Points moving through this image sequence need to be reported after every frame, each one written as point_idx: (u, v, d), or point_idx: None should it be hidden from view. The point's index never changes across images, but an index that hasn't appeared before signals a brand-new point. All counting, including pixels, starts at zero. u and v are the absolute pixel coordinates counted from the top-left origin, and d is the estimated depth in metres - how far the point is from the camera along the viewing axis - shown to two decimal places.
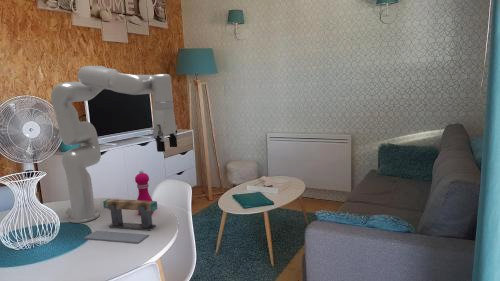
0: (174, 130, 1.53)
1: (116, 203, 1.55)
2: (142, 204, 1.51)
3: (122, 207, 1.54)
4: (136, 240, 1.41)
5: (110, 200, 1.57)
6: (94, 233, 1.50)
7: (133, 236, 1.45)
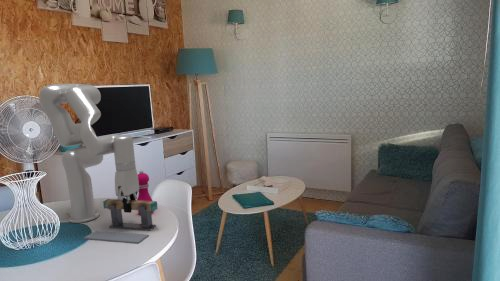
0: (137, 188, 1.56)
1: (116, 203, 1.55)
2: (142, 204, 1.51)
3: (122, 207, 1.54)
4: (136, 240, 1.41)
5: (110, 200, 1.57)
6: (94, 233, 1.50)
7: (133, 236, 1.45)
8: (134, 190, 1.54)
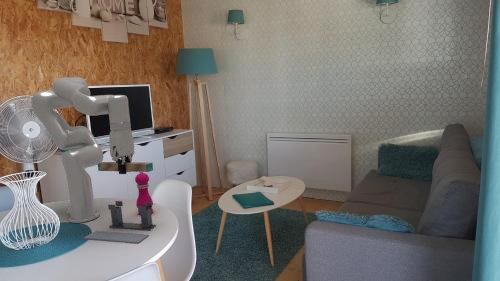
0: (132, 150, 1.53)
1: (111, 165, 1.52)
2: (137, 165, 1.48)
3: (117, 169, 1.51)
4: (136, 240, 1.41)
5: (105, 162, 1.54)
6: (94, 233, 1.50)
7: (133, 236, 1.45)
8: (129, 152, 1.51)
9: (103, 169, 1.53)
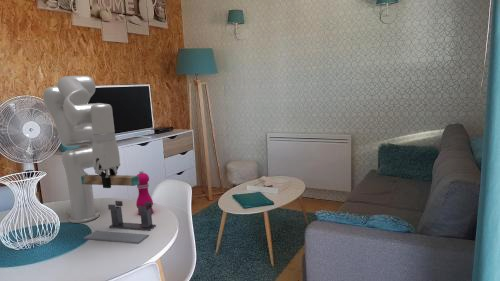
0: (117, 162, 1.44)
1: (95, 178, 1.43)
2: (122, 178, 1.39)
3: (101, 182, 1.42)
4: (136, 240, 1.41)
5: (88, 175, 1.45)
6: (94, 233, 1.50)
7: (133, 236, 1.45)
8: (114, 164, 1.42)
9: (87, 182, 1.44)
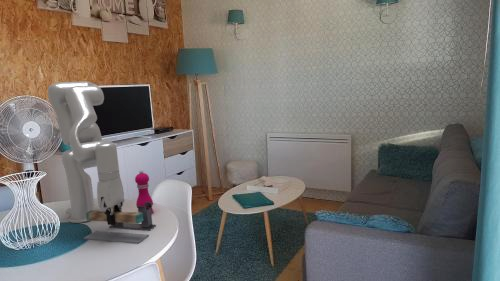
0: (122, 199, 1.46)
1: (99, 215, 1.45)
2: (127, 216, 1.41)
3: (106, 219, 1.44)
4: (136, 240, 1.41)
5: (93, 211, 1.47)
6: (94, 233, 1.50)
7: (133, 236, 1.45)
8: (118, 201, 1.44)
9: (92, 219, 1.46)
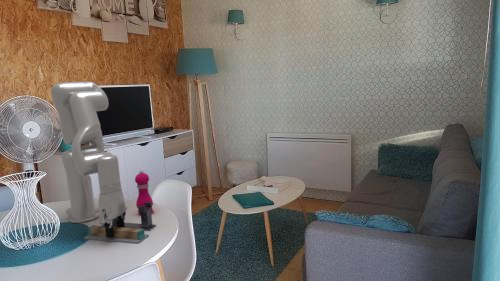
0: (123, 211, 1.47)
1: (101, 230, 1.46)
2: (128, 232, 1.43)
3: None
4: (136, 240, 1.41)
5: (95, 227, 1.49)
6: None
7: None
8: (119, 213, 1.45)
9: (93, 234, 1.48)
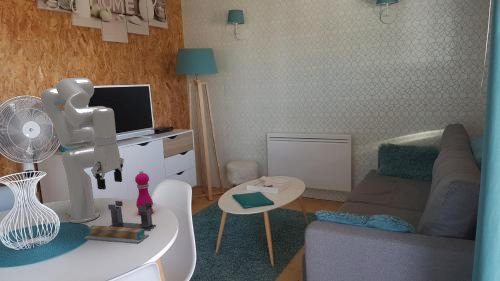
0: (118, 165, 1.47)
1: (101, 230, 1.46)
2: (128, 232, 1.43)
3: (107, 235, 1.46)
4: (136, 240, 1.41)
5: (95, 227, 1.49)
6: None
7: None
8: (115, 167, 1.45)
9: (93, 234, 1.48)
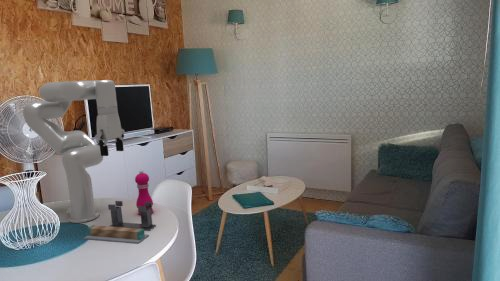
0: (119, 134, 1.57)
1: (101, 230, 1.46)
2: (128, 232, 1.43)
3: (107, 235, 1.46)
4: (136, 240, 1.41)
5: (95, 227, 1.49)
6: None
7: None
8: (116, 135, 1.55)
9: (93, 234, 1.48)
